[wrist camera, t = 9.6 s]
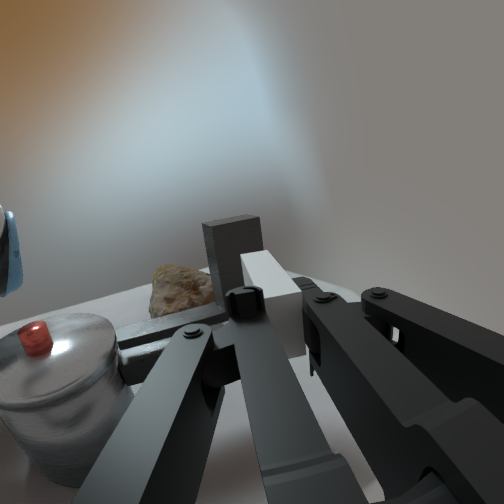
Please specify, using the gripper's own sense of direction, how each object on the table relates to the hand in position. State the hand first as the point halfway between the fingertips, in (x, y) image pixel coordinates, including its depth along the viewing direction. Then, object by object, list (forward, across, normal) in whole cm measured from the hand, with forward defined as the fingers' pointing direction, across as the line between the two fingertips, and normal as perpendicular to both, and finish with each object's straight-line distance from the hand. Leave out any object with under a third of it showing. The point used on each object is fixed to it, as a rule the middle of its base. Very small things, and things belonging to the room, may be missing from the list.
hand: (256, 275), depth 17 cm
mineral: (+32, -10, -15) cm, 37 cm away
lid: (+5, -12, -6) cm, 14 cm away
